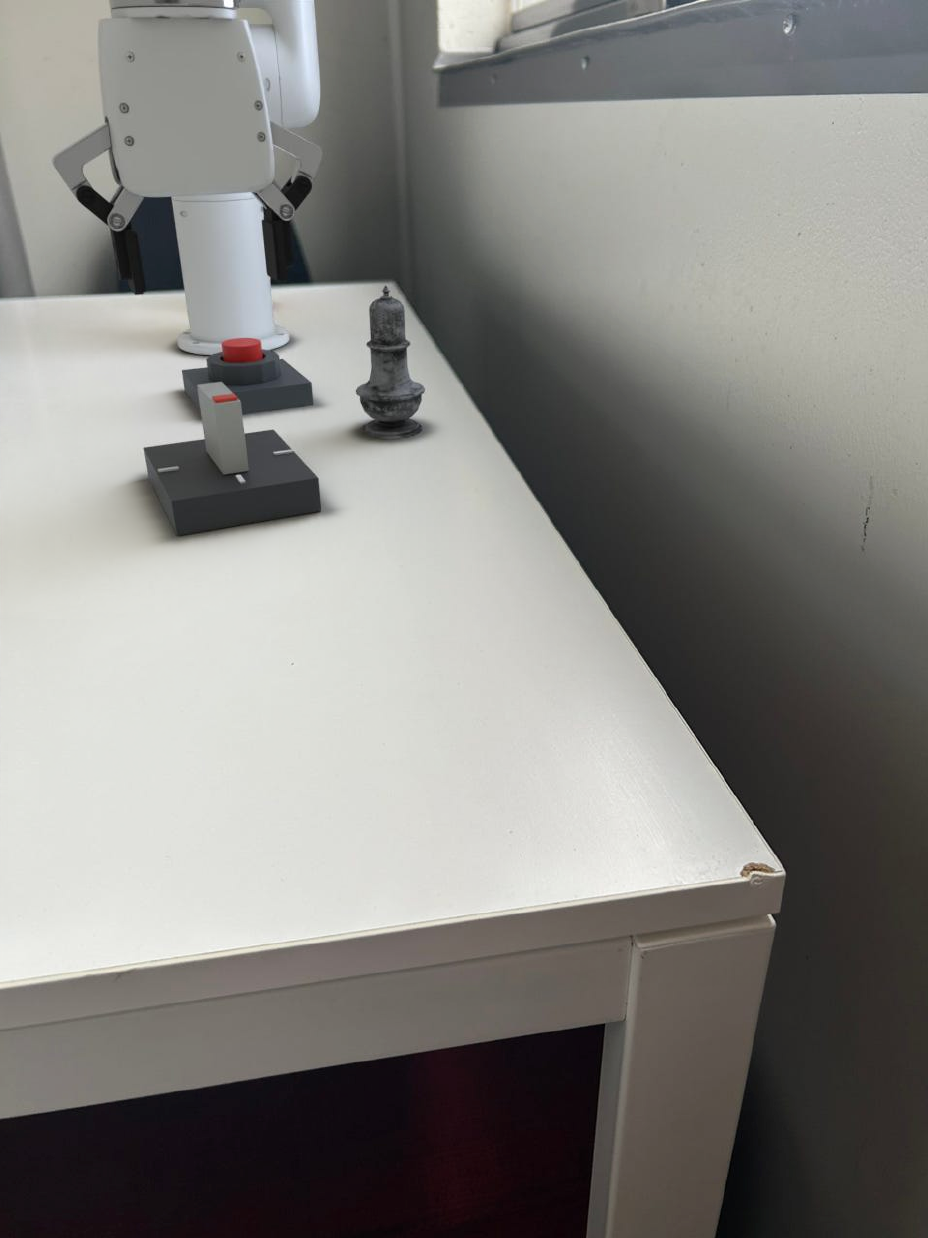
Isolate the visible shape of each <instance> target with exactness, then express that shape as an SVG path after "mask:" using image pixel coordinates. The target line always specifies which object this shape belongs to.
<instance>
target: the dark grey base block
mask: <svg viewBox="0 0 928 1238" xmlns="http://www.w3.org/2000/svg"><path fill="white" fill-rule="evenodd" d="M244 434H245V442H246V451H247V459H248V467H249V471H245V472H238V473H232V474H226V475H224V474H223V473H222V472H221V470H220V469H219V468H218V466H217V465H216V464H215V462H214V461H213V460H212V458H211V457H210V456H209V454H208V453H207V451H206V445H205V438H204V439H203V438H201V439H196V440H187V441H180V442H173V443H167V444H160V445H153V446H146V447H143V455H144V459H145V466H146V471H147V477H148V480H149V482H150V484H151V487H152V488H153V490H154V492H155V494H156V496H157V498H158V501H159V502H160V504H161V506H162V508H163V510H164V512H165V514H166V517H167V518H168V521H169V523H170V524H171V526H172V529H173V530H174V533H175V535H176V536H178V537H179V536H185V535H190V534H196V533H202V532H207V531H208V532H209V531H214V530H219V529H226V528H230V527H231V528H232V527H237V526H243V525H249V524H255V523H259V522H260V523H261V522H266V521H270V520H277V519H282V518H289V517H295V516H301V515H305V514H312V513H318V512H321V511H322V502H321V491H320V480H319V477H318V476H317V474H315V473H314V472H313V470H312V469H311V468H310V467H309V466H308V465H307V464H306V463H305V462H304V461H303V459H302V458H301V457H300V456H299V455H298V454H297V453H296V452H295V451H294V450H293V449H292V447H290V446H289V445H288V444H287V442H286V441H285V440H284V439H283V438H282V437H281V436H280V435H279V434H278V433H277V431H275V429H266V430H259V431H252V432H244Z"/></svg>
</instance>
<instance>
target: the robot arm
mask: <svg viewBox="0 0 928 1238" xmlns="http://www.w3.org/2000/svg"><path fill="white" fill-rule="evenodd" d="M108 4H109V9H110V10H109V11H110V16H111V17H107V18H103V19H101V18H100V19H98V22H97V23H98V25H97V57H98V61H97V62H98V74H99V86H100V96H101V106H102V115H103V121H104V122H103V123H102V124H101V125H100V126H98V127H96V128H95V129H93V130H91V131H90V132H88V133H87V134H85V135H84V136H82V137H81V138H79V139H77V140H76V141H74V142H73V143H71V144H70V145H68V146H67V147H65V148H63V149H62V150H60V151H58V152H57V153H55V154H54V156H52V159H51V163H52V166H53V168H54V169H55V170H56V171H57V173H58V175H59V177H60V178H61V179H62V180H63V182H64V183H65V184H66V187H67V188H68V189H69V190H70V191H71V193H72V194H73V196H74V197H75V199H76V200H77V202H79V203H80V204H81V205H82V206H83V207H84V208H86V210H88V211H89V212H91V213H92V215H94V216H95V217H97V218H98V219H99V220H100V221H101V222H103V223H104V224H105V225H106V226H107V227H109V231H110V237H111V243H112V249H113V255H114V261H115V267H116V273H117V275H118V280H119V281H120V282H121V281H122V282H123V281H128V282H127V283H128V287H129V289H130V290H131V292H132V293H133V294H134V296H140V295H144V293H147V287H146V281H145V280H146V279H145V273H144V268H143V261H142V255H141V248H140V241H139V235H138V232H137V231H136V230H134V228H133V227H132V220H131V219H132V218H133V217H134V215H135V213H136V211H137V210H138V208H139V207H140V206H141V204H142V202H143V200H144V199H145V198H170V197H171V204H172V211H173V220H174V223H175V224H174V226H175V232H176V240H177V247H178V254H179V255H178V256H179V260H180V267H181V275H182V282H183V290H184V298H185V304H186V310H187V311H186V312H187V319H188V325H189V329H186V330H184V331H182V332H180V333H179V334H178V335H177V337H176V341H177V342H176V343H177V347H178V348H179V349H180V350H182V351H184V352H186V353H190V354H195V355H202V356H211V355H212V354H216V353H219V352H222V342H224V341H226V340H229V339H235V338H255V339H259V340H260V341H261V347H262V349H264V350H269V351H273V350H275V349H279V348H281V347H283V346H285V345H286V344H288V343H289V342H290V332H289V330H288V328H286V327H285V326H282V325H280V324H275V316H274V306H273V305H274V304H273V294H272V283H271V280H270V277H271V279H273V280H274V281H276V282H278V283H281V284H282V283H288V281H289V280H288V279H289V278H288V268H292V267H293V266H294V257H293V244H292V234H291V223H290V222H291V220H293V218H294V217H295V215H296V211H297V210H298V208H299V207H300V206H301V204H302V203H303V202H304V201H305V199H306V198H307V197H308V195H309V194H310V193H311V191H312V189H313V182H314V179H316V176H317V173H318V171H319V168H320V166H321V163H322V160H323V157H324V152H323V149H322V148H321V147H320V146H319V145H317V144H315V143H313V142H311V141H309V140H307V139H305V138H304V137H302V136H300V135H298V134H296V133H295V132H292V131H290V130H289V129H300V128H303V127H307V126H309V125H311V124H312V123H313V122H314V121H315V119H316V118H317V116H318V114H319V111H320V107H321V106H320V104H321V77H320V76H321V75H320V62H319V61H320V60H319V49H318V36H317V35H318V34H317V21H316V9H315V0H108ZM238 9H259V10H263V11H264V12H266V13H267V14H268V15H269V17H270V19H271V22H272V23H268V24H267V23H253V24H252V23H249V22H248V20H247V19H241V18H238V14H237V10H238ZM274 147H276V148H277V149H280V151H281V150H282V151H283V152H285V153H287V154H289V155H291V156H292V157H293V158H294V160H295V165H294V168H293V172H292V175H291V176H290V177H289V178H288V180H287V181H286V182H285V184H284V185H283V186H282V188H281V189H279V188H278V187H277V185H276V184H275V183H274V179H275V174H276V173H275V171H276V167H275V165H276V164H275V151H274ZM106 152H107V153H108V160H109V166H110V170H111V174H112V177H113V180H114V182H115V183H116V184H117V185H118V187H117V188H116V189H115V191H114V193H113V195H112V197H110V200H107V199H106V198H104V196H102V195H101V194H100V193H99V192H97V190H95V189H94V188H93V186H92V185H91V183H90V182H89V180H88V179H87V178H86V176H85V174H84V167H85V165H86V164H88V163H90V162H92V161H93V160H94V159H96V158H98V157H99V156H101V155H102V154H103V153H106ZM264 210H265V214H264Z"/></svg>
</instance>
